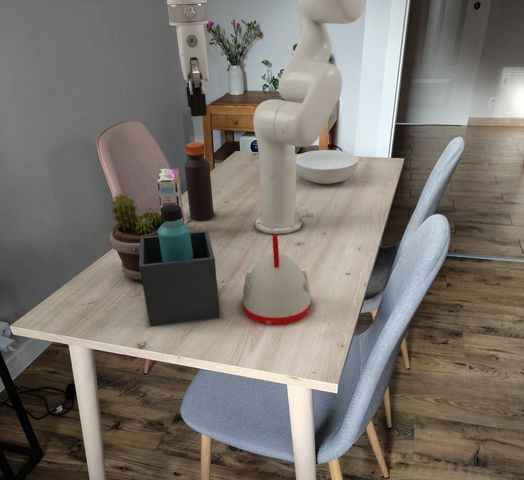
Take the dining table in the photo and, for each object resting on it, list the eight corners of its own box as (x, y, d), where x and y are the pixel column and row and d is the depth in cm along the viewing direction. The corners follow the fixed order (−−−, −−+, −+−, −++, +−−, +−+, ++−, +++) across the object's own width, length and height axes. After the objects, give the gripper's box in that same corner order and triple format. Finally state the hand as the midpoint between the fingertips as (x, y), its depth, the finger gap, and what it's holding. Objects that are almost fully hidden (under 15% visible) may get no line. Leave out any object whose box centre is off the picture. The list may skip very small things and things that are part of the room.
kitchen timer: (307, 289, 116) (308, 223, 107) (313, 323, 105) (315, 252, 96) (243, 292, 116) (239, 226, 107) (243, 326, 105) (238, 256, 96)
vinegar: (186, 220, 152) (178, 147, 140) (195, 211, 157) (187, 140, 145) (209, 222, 150) (202, 148, 139) (217, 213, 155) (211, 141, 144)
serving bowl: (282, 183, 176) (281, 162, 172) (314, 167, 189) (314, 147, 185) (338, 194, 165) (339, 171, 162) (367, 176, 179) (369, 154, 175)
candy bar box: (184, 243, 138) (176, 180, 129) (165, 244, 138) (156, 181, 129) (186, 227, 147) (178, 166, 138) (167, 228, 147) (159, 168, 138)
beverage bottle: (193, 308, 109) (182, 213, 98) (163, 305, 110) (147, 212, 99) (202, 292, 114) (192, 201, 103) (173, 290, 115) (160, 200, 104)
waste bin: (213, 285, 119) (207, 230, 111) (220, 317, 108) (214, 258, 100) (149, 292, 117) (140, 237, 110) (149, 326, 106) (139, 266, 98)
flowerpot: (189, 261, 130) (179, 178, 118) (167, 291, 117) (154, 202, 106) (133, 257, 132) (118, 176, 121) (106, 286, 120) (87, 199, 109)
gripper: (211, 17, 96) (219, 118, 106) (203, 12, 110) (211, 102, 120) (170, 19, 95) (181, 121, 105) (167, 14, 109) (177, 104, 119)
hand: (197, 111), depth 112 cm, fingers open, 9 cm apart
